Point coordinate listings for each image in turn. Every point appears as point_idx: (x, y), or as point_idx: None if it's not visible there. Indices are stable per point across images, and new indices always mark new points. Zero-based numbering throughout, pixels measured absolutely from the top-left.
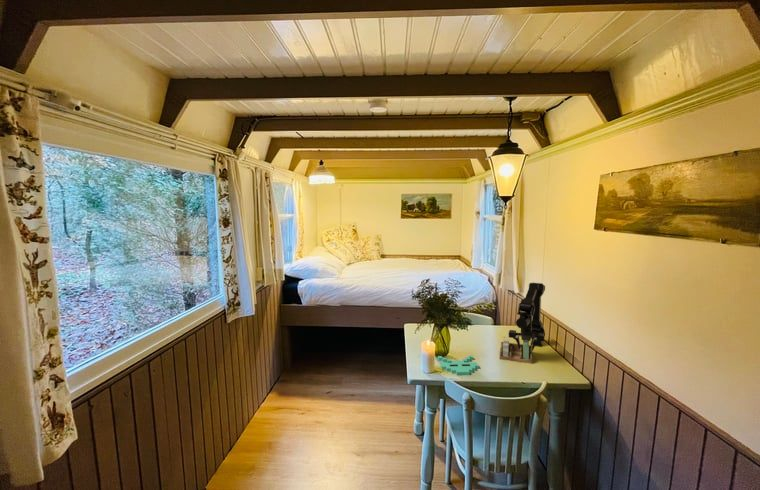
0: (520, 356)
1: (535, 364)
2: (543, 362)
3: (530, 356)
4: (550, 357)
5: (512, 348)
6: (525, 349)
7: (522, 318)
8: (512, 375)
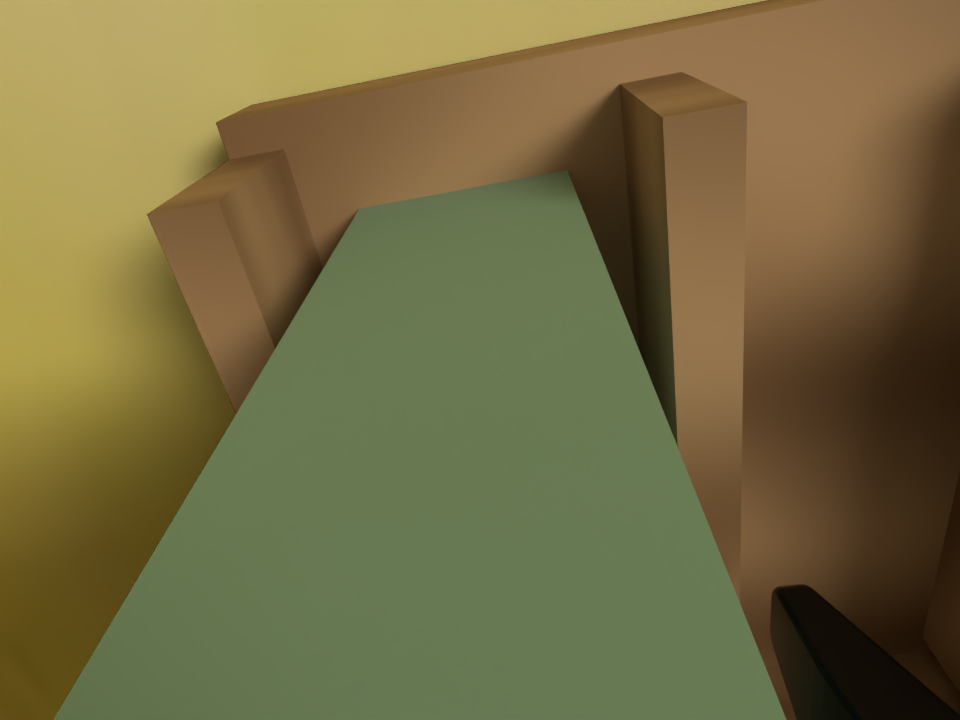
0: (686, 91)
1: (135, 112)
2: (33, 376)
3: (216, 201)
4: (60, 666)
5: (924, 681)
6: (459, 413)
7: None
8: None
